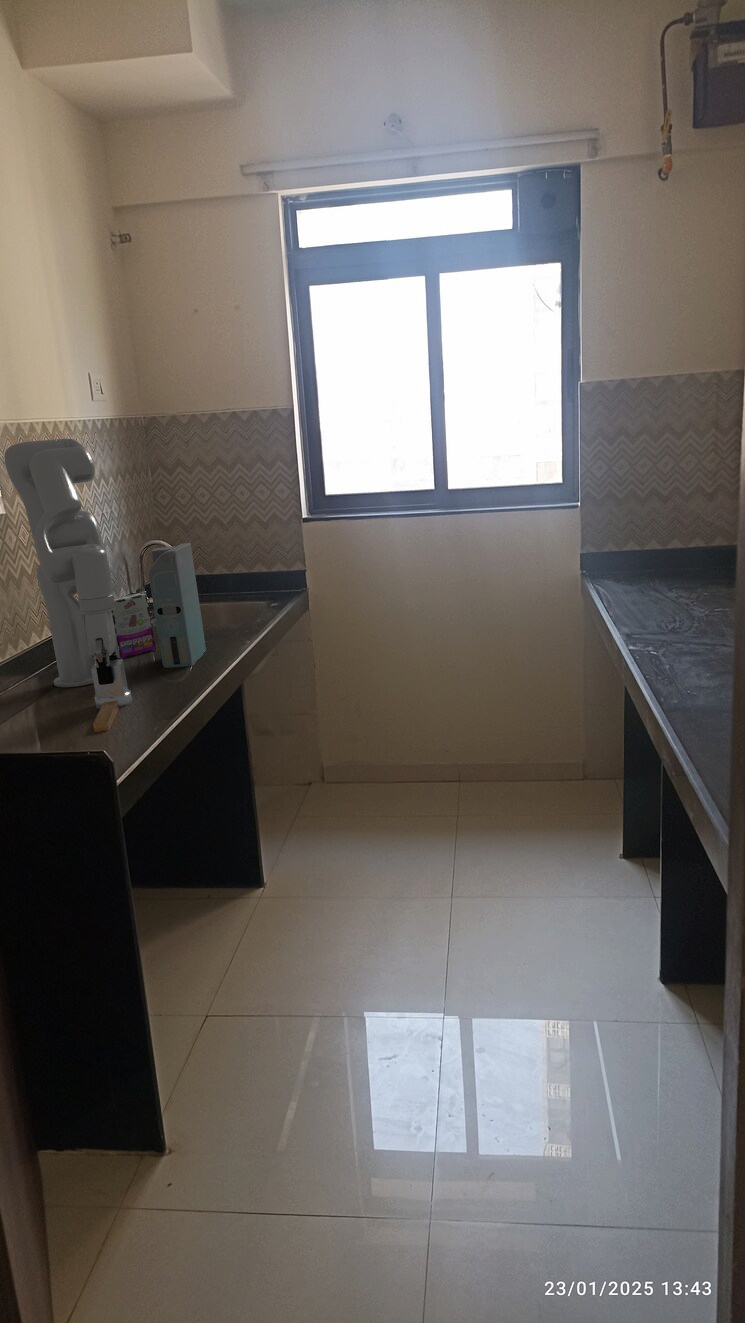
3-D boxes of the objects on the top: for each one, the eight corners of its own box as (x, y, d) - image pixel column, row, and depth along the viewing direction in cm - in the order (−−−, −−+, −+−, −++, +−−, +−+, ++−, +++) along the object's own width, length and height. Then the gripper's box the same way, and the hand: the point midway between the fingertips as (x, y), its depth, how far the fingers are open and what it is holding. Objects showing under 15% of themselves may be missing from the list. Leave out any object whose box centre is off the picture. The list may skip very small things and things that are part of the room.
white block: (100, 691, 213) (95, 662, 212) (127, 688, 214) (122, 659, 212) (96, 699, 207) (91, 668, 206) (124, 695, 208) (119, 665, 206)
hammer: (99, 701, 215) (94, 674, 213) (134, 697, 216) (129, 670, 214) (81, 733, 191) (76, 703, 190) (121, 728, 192) (116, 698, 190)
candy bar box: (148, 648, 267) (139, 592, 263) (156, 650, 263) (147, 593, 259) (112, 657, 260) (102, 600, 256) (120, 659, 256) (110, 601, 252)
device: (179, 653, 257) (162, 545, 249) (206, 651, 256) (190, 542, 249) (163, 668, 241) (145, 553, 234) (192, 666, 240) (175, 551, 233)
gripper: (86, 599, 214) (98, 670, 218) (73, 613, 197) (86, 690, 201) (119, 595, 214) (130, 666, 219) (109, 609, 198) (121, 686, 202)
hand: (109, 678), depth 210 cm, fingers open, 9 cm apart
